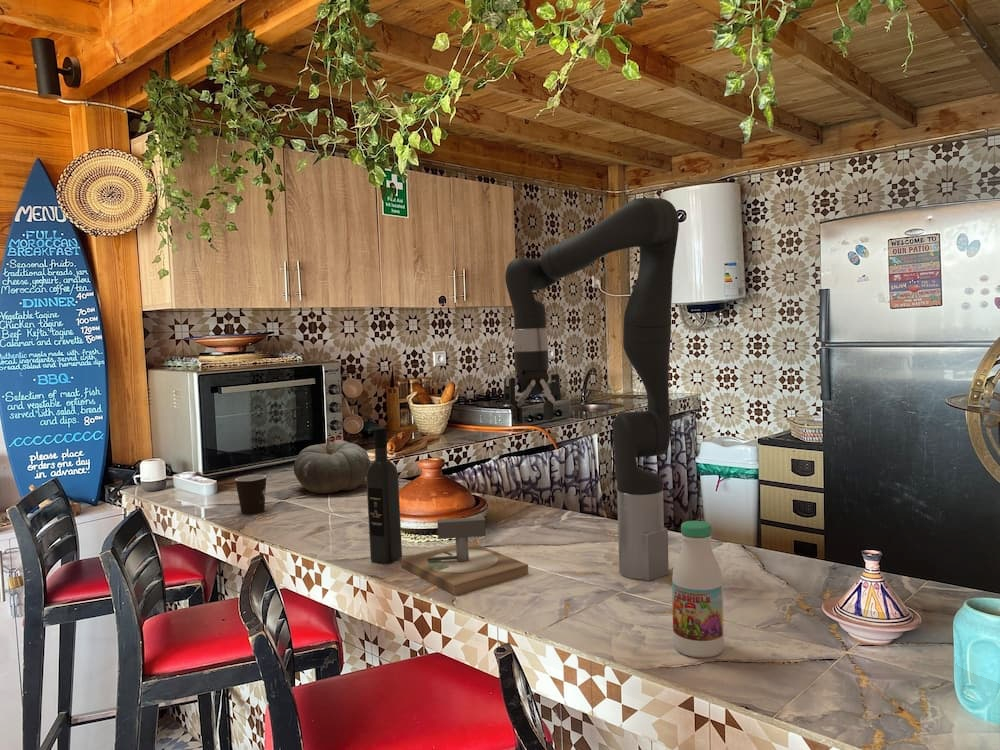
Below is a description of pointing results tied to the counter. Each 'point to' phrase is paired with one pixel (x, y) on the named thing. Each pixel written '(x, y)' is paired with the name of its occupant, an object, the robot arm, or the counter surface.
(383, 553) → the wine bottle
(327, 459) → the gourd
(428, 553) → the wooden base stand
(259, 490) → the coffee mug
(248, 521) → the counter surface
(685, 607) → the milk bottle
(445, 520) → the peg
